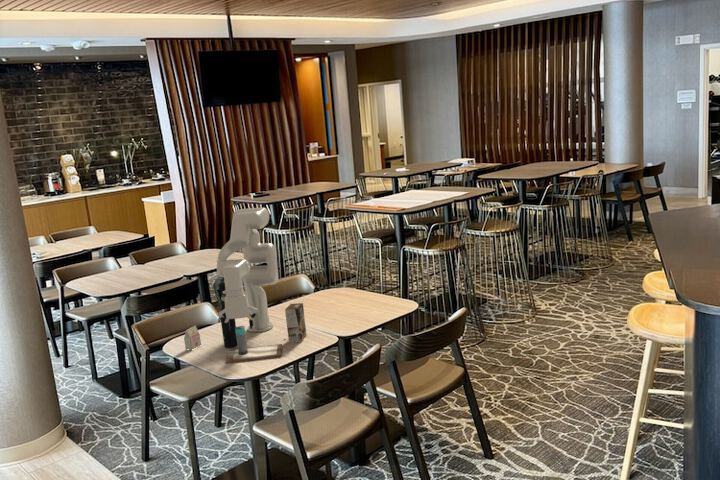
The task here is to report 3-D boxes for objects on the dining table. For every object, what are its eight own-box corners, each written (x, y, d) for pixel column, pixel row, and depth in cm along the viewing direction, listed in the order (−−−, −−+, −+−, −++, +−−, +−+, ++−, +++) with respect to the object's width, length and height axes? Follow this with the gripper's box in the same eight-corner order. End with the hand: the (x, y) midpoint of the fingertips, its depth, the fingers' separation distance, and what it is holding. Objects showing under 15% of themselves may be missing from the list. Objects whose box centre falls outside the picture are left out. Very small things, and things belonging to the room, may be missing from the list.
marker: (238, 352, 297) (235, 326, 295) (248, 351, 298) (244, 325, 295) (238, 355, 293) (234, 329, 291) (247, 354, 294) (244, 328, 291)
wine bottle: (240, 343, 312) (232, 281, 306) (234, 348, 306) (225, 285, 300) (228, 343, 314) (220, 281, 308) (221, 348, 308) (213, 285, 302)
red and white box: (185, 350, 310) (182, 330, 308) (195, 345, 316) (192, 325, 314) (192, 351, 308) (189, 330, 306) (201, 345, 314) (198, 325, 312)
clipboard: (229, 352, 302) (228, 347, 302) (282, 345, 304) (281, 341, 303) (225, 363, 288) (225, 359, 288) (281, 357, 290) (280, 352, 289)
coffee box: (301, 342, 306) (297, 308, 303) (288, 342, 307) (284, 309, 304) (307, 335, 314) (303, 302, 311) (294, 335, 316) (290, 303, 313)
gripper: (213, 297, 286) (219, 334, 290) (254, 292, 287) (259, 329, 291) (216, 291, 293) (221, 328, 297) (255, 287, 294) (260, 323, 298)
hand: (240, 329), depth 294 cm, fingers open, 9 cm apart
